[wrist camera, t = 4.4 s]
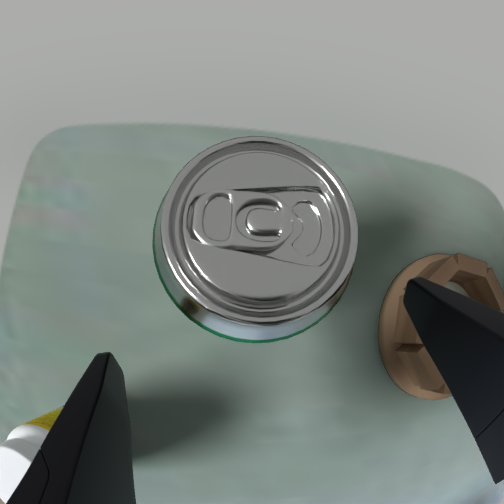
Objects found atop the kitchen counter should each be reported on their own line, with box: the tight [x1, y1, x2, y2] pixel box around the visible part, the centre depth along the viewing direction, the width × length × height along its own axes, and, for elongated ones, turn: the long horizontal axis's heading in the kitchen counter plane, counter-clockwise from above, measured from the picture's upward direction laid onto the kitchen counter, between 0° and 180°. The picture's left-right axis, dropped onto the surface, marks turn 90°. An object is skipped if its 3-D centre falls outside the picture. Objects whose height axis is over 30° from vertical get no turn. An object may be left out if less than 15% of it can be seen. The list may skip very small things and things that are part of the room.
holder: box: [378, 253, 504, 400], centre depth 17 cm, size 10×10×4 cm
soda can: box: [153, 136, 358, 343], centre depth 12 cm, size 5×5×12 cm
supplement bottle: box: [0, 406, 64, 504], centre depth 11 cm, size 5×5×8 cm
